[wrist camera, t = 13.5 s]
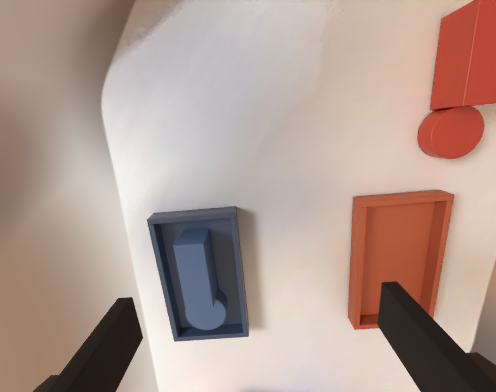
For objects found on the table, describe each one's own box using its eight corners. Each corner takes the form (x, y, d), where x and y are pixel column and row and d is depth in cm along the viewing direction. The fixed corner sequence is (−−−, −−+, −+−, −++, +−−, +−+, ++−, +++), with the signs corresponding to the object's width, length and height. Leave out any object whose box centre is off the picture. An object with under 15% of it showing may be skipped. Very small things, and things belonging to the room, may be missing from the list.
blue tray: (153, 213, 26) (146, 219, 24) (236, 206, 25) (235, 212, 23) (178, 328, 30) (174, 341, 28) (248, 324, 30) (248, 336, 28)
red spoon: (430, 19, 20) (468, -3, 17) (485, 14, 20) (534, -10, 17) (414, 158, 24) (443, 163, 20) (462, 154, 24) (498, 158, 20)
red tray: (353, 196, 25) (361, 202, 23) (439, 189, 25) (454, 194, 23) (348, 317, 29) (354, 329, 28) (420, 312, 29) (432, 324, 27)
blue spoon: (175, 231, 26) (163, 246, 22) (217, 227, 26) (212, 242, 22) (191, 319, 29) (184, 345, 26) (229, 317, 29) (227, 342, 26)
